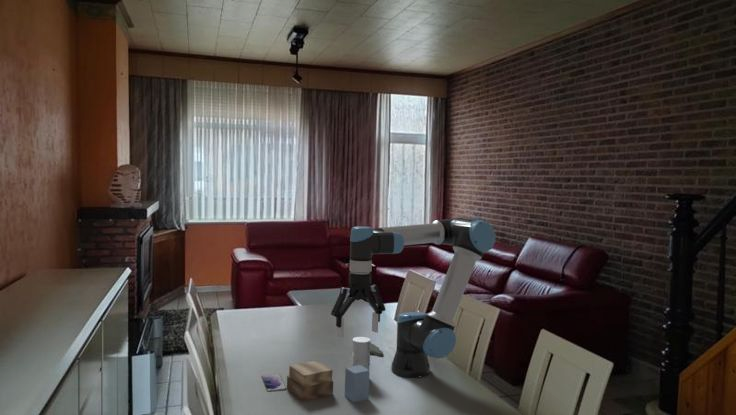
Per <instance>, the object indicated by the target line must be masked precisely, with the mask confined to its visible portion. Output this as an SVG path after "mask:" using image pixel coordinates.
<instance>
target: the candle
mask: <svg viewBox="0 0 736 415" xmlns="http://www.w3.org/2000/svg"><path fill="white" fill-rule="evenodd" d="M352 342H353V343H352V353H351V367H352V366H357V365H361V366H363V367H365V368H366V369H368V370H370V365H371V354H370V353H369V349H370V342H371V338H369V337H367V336H355V337H353V338H352Z"/></svg>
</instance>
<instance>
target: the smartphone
mask: <svg viewBox="0 0 736 415" xmlns="http://www.w3.org/2000/svg"><path fill="white" fill-rule="evenodd" d="M261 380H262V382H263V386H264V388H265V390H266V392H267V393H270V392H280V391H282V392H283V391H286V390H288V389H287V385H285V384H286V383H285V382H284V381H283V378H282V376H281V374H280V373H273V374H264V375H261Z"/></svg>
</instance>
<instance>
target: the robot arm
mask: <svg viewBox="0 0 736 415" xmlns="http://www.w3.org/2000/svg"><path fill="white" fill-rule="evenodd" d="M349 241H350V242H349V243H350V246H349V274H348V284H349V286H348V287H343V286H341V287H340V291H339V295H338V296H337V299H336V301H335V303H334V306H333V308H332V310H331V313H330V315H331V316H333V317H335V325H336V327H337V337H340V338H344V337H345V336H344V335H345V333H344V332H345V317H343V316H344V315H345V314H346V312H347V311H348V309H349V308H350V307H351V306H352V304H353V303H354V302H355V301H360V300H363V301H364V300H366V301H367V303H368V304H369V306H370V307H371V308H372V310H373V311H374V312H372V314H371V316H372V317H371V320H372V321H371V332H373V333H375V334H377V333H378V332H379V323H380V322H381V314H383V312H385V311H386V307H385V305H384V302H383V299H382V297H381V294H380V291H379V290H380V289H379V285H376V284H372V273H371V272H372V266H373V264H372V263H373V262H372V261H373V255H394V254H400V253H401V252H402V251H403V249H404V247H405V246H412V245H420V244H430V243H431V244H435V245H439V246H440V245H448V246H452V250H453V252H454V253H453V256H452V258H451V261H450V264H449V267H448V269H447V271H446V275H445V276H444V278H443V281H442V285H440V286H441V287H440V289H439V292H438V294H437V297H436V299H435V302H434V305H433V307H432V309H431V311H430V312H428V313H427V312H423V311H422V312H421V311H409V312H408V311H407V312H401V313H400V314H399V315H398V316H397V322H396V350H395V354H394V357H393V359H392V362H391V370H390V371H391V372H392V373H394V374H395V375H398V376H401V377H404V378H405V377H406V378H420V377H419V376H423V377H425V376H424V375H426V376H427V374H428V373H429V372H431V366H430V362H429V359H428V356H429V357H431V358H435V359H444V358H445V357H447V356H449V355H450V354H451V353H452V351H454V348H456V344H457V338H456V334H455V332H454V331H455V328H456V324H455V322H454V319H455V317H456V314H457V312H458V308H459V307H460V304H461V301H462V299H463V297H464V293H465V291H466V289H467V286H468V283H469V280H470V278H471V275H472V273H473V271H474V267H475V266H476V263H477V261H479V260H482V258H483V256H484V253H487V252H489V251H491V250H492V249H493V247H494V245H495V242H496V234H495V231H494V228H493V226H492V225H491V223H489V222H488V221H486V220H481V219H479V218H477V219H476V218H465V217H453V218H446V219H445V218H444V219H438V220H434V221H432V222H431V223H423V224H410V225H408V224H407V225H398V226H397V225H396V226H389V227H388V226H387V227H374V228H373V227H371V226H353V227H352V228H351V230H350V239H349ZM371 292H372V295H373V297H374V299H373V297H372V296H371V294H370V293H371ZM429 374H430V373H429ZM429 374H428V375H429Z"/></svg>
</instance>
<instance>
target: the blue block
mask: <svg viewBox="0 0 736 415" xmlns="http://www.w3.org/2000/svg"><path fill="white" fill-rule="evenodd" d="M344 370H345V371H344V372H345V374H344V375H345V376H344V397H345V398H346V399H348V400H349V401H351V402H352V403H353V404H354V403H358V402H362V401H367V400H369V397H370V396H369V395H370V392H369V391H370V372H371V371H370V369H369V370H368V369H366V368H365V367H363V366H361V365H357V366H352V365H351V366H348V367H345V369H344Z"/></svg>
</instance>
